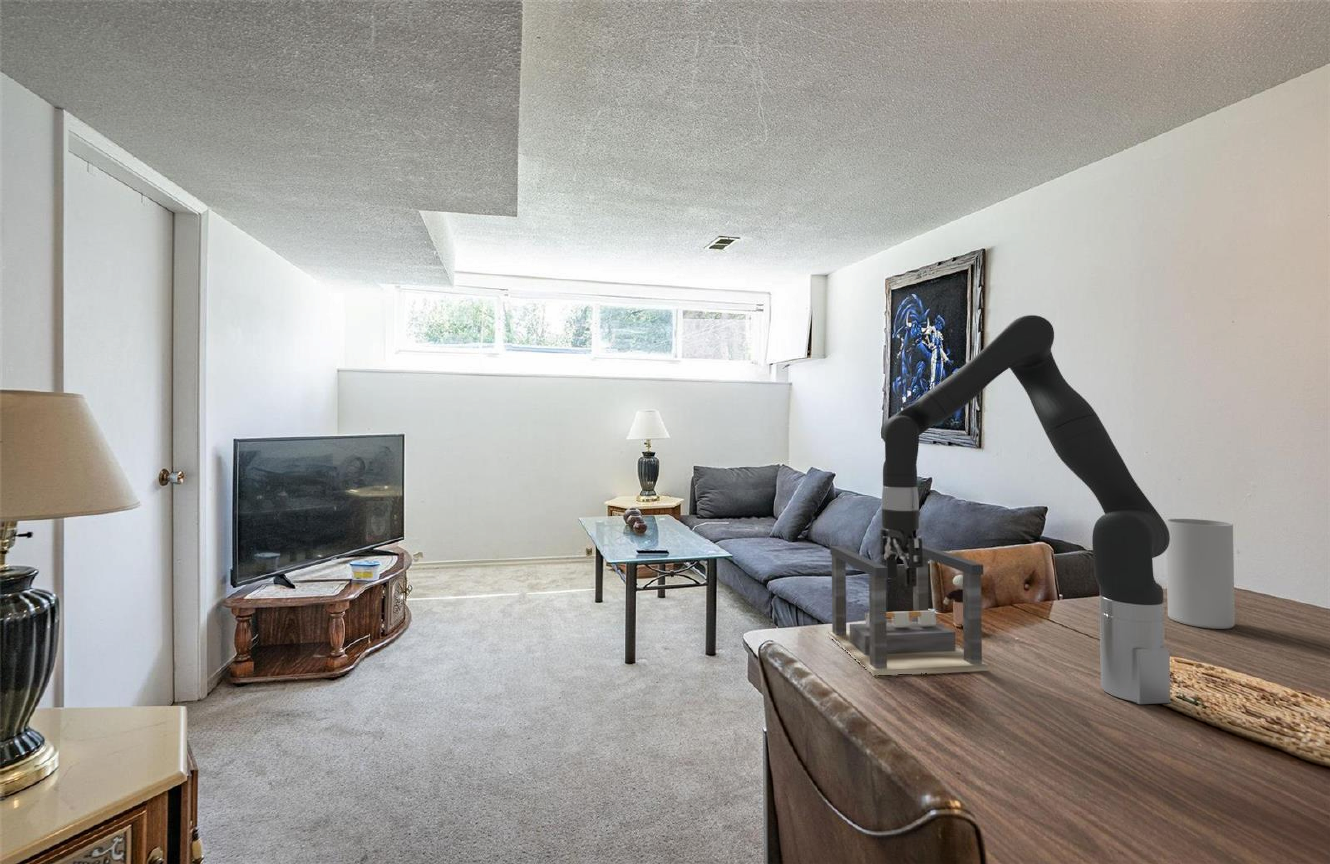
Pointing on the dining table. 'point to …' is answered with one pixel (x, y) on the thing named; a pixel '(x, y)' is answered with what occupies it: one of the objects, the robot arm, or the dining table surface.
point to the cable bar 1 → (859, 562)
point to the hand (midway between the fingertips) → (900, 581)
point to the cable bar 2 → (952, 560)
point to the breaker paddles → (903, 617)
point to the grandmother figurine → (956, 600)
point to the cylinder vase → (1200, 573)
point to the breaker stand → (908, 630)
